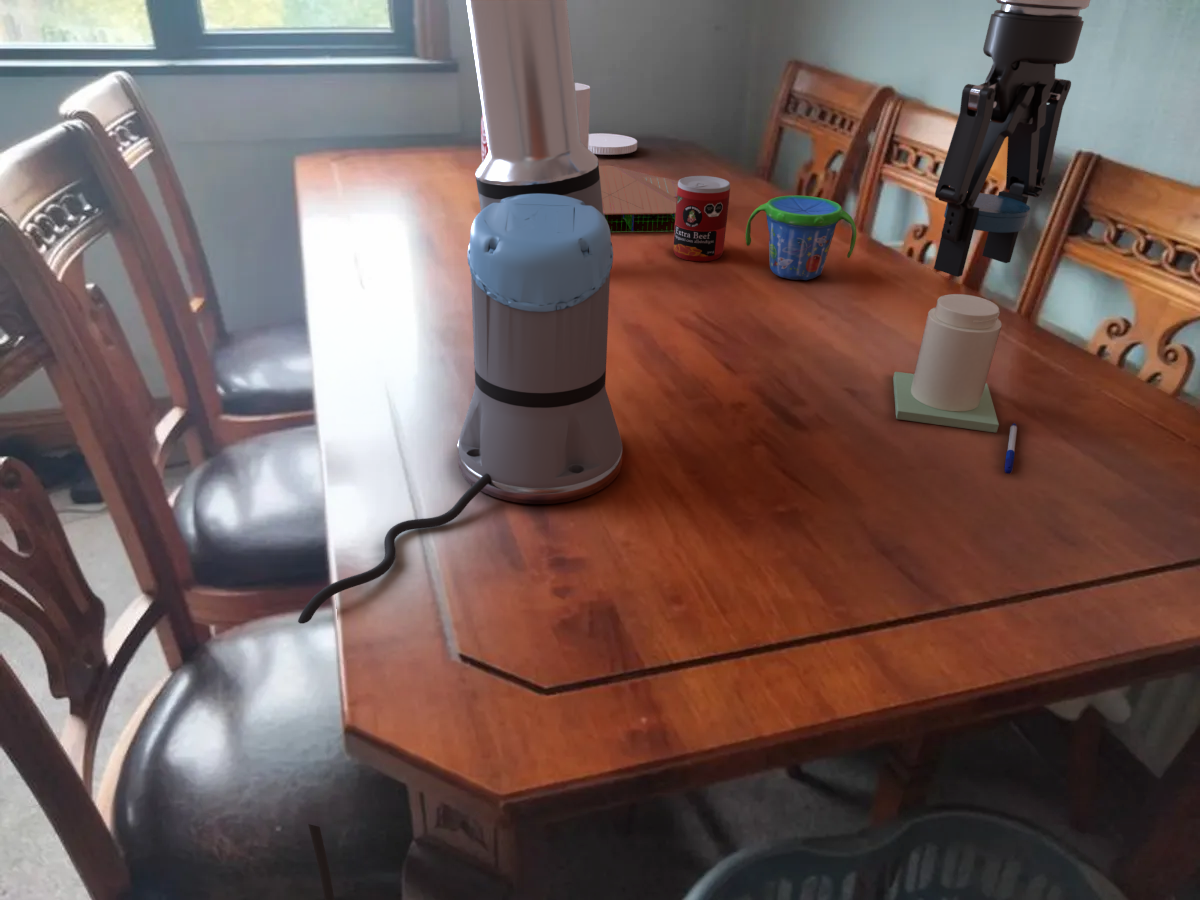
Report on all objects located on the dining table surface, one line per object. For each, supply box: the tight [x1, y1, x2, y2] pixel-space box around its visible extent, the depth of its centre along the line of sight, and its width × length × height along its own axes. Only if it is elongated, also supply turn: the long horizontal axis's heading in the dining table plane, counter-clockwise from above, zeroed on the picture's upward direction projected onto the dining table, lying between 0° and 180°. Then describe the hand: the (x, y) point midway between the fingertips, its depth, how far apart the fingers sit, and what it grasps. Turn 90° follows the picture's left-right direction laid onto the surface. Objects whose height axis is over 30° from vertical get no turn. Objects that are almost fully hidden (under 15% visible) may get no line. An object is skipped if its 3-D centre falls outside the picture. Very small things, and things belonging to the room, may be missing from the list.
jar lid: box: [943, 192, 1031, 233], centre depth 87 cm, size 8×8×2 cm
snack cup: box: [745, 195, 857, 281], centre depth 131 cm, size 16×10×10 cm
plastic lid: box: [588, 132, 638, 156], centre depth 198 cm, size 14×14×2 cm
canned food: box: [672, 175, 731, 263], centre depth 137 cm, size 8×8×11 cm
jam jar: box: [910, 293, 1003, 412], centre depth 95 cm, size 7×7×10 cm
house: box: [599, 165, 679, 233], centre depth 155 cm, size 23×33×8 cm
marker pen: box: [1004, 422, 1018, 475], centre depth 90 cm, size 10×1×1 cm, turn 157°
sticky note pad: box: [892, 371, 1000, 434], centre depth 98 cm, size 10×10×1 cm
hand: (972, 265), depth 90 cm, fingers closed on jar lid, 7 cm apart
